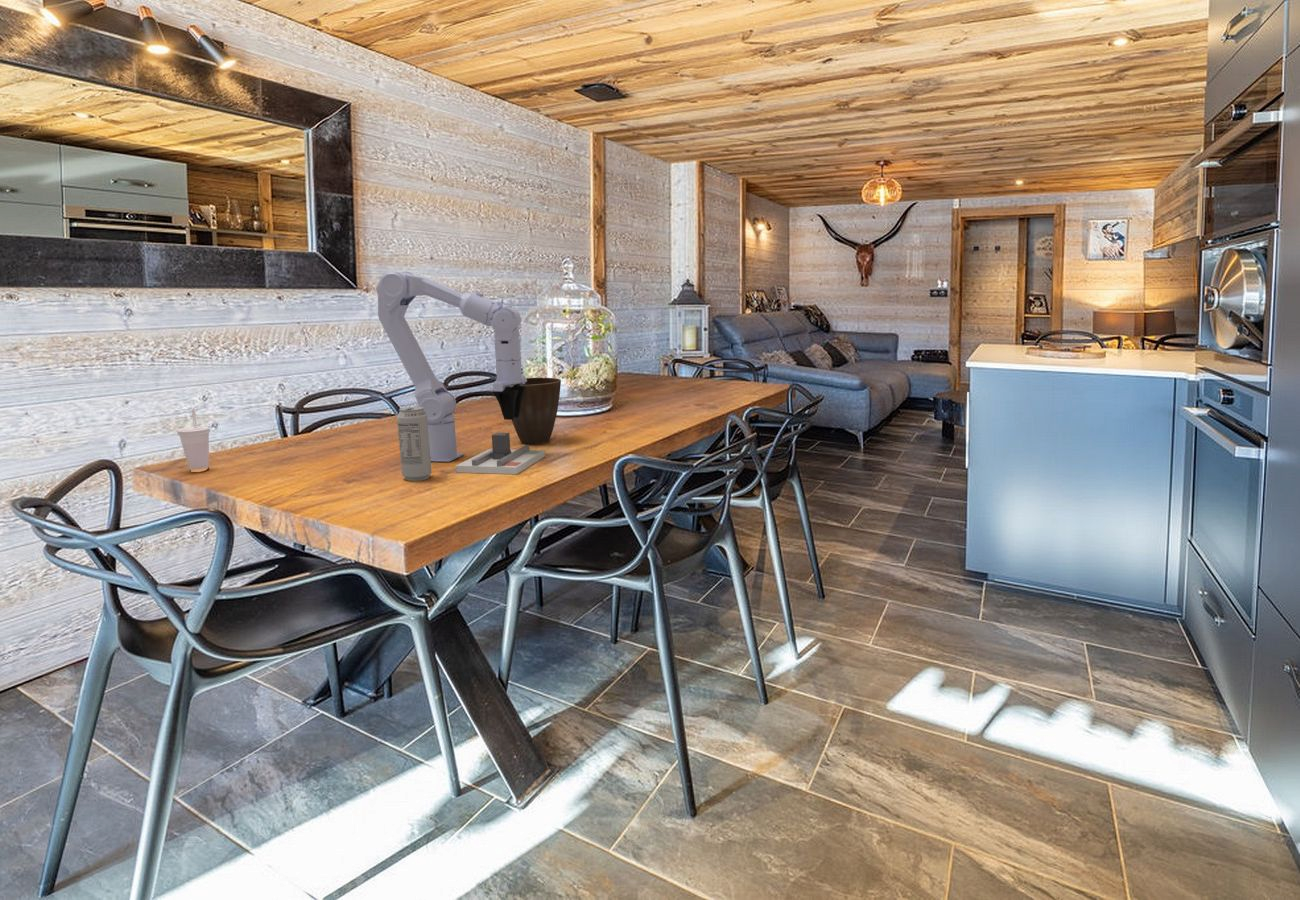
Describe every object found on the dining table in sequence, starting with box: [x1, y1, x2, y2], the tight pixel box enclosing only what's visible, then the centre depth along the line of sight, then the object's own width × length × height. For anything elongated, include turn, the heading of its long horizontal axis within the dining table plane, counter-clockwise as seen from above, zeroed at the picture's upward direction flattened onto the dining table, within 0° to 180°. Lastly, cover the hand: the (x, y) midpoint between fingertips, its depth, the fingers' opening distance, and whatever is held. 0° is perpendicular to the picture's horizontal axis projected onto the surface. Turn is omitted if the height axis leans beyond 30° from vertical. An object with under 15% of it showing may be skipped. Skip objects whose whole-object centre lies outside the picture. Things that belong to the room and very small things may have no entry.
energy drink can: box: [396, 406, 432, 482], centre depth 161 cm, size 6×6×15 cm
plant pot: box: [511, 377, 562, 446], centre depth 197 cm, size 15×15×16 cm
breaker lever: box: [491, 432, 511, 459], centre depth 173 cm, size 3×4×5 cm
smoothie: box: [176, 409, 211, 469], centre depth 172 cm, size 6×6×14 cm
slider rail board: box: [455, 444, 546, 475], centre depth 174 cm, size 14×18×3 cm
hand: (511, 418), depth 179 cm, fingers open, 3 cm apart
